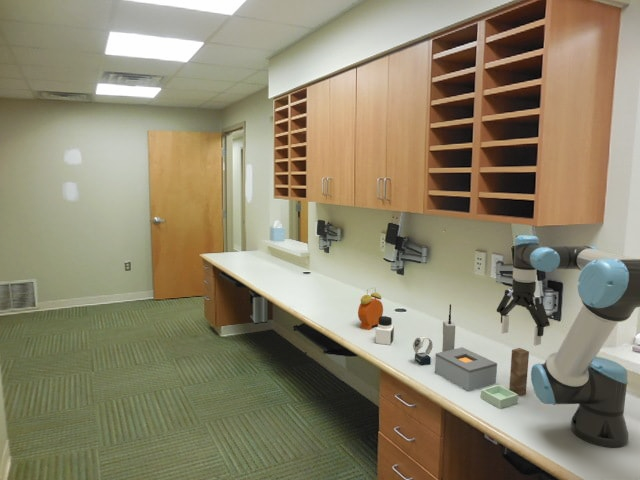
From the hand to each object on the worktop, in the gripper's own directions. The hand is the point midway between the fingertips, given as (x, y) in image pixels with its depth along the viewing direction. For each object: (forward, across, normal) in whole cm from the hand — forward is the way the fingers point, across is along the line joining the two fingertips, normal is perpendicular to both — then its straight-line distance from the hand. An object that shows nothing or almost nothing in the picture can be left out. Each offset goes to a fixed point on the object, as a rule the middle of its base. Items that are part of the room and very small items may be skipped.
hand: (520, 338), depth 169 cm
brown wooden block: (+20, 0, 0) cm, 21 cm away
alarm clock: (+20, +85, +6) cm, 88 cm away
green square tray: (+20, -1, +10) cm, 23 cm away
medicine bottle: (+20, +64, +12) cm, 68 cm away
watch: (+20, +37, +12) cm, 44 cm away
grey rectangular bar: (+20, +33, +2) cm, 39 cm away
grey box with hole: (+20, +18, +7) cm, 28 cm away
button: (+15, +18, +7) cm, 25 cm away
